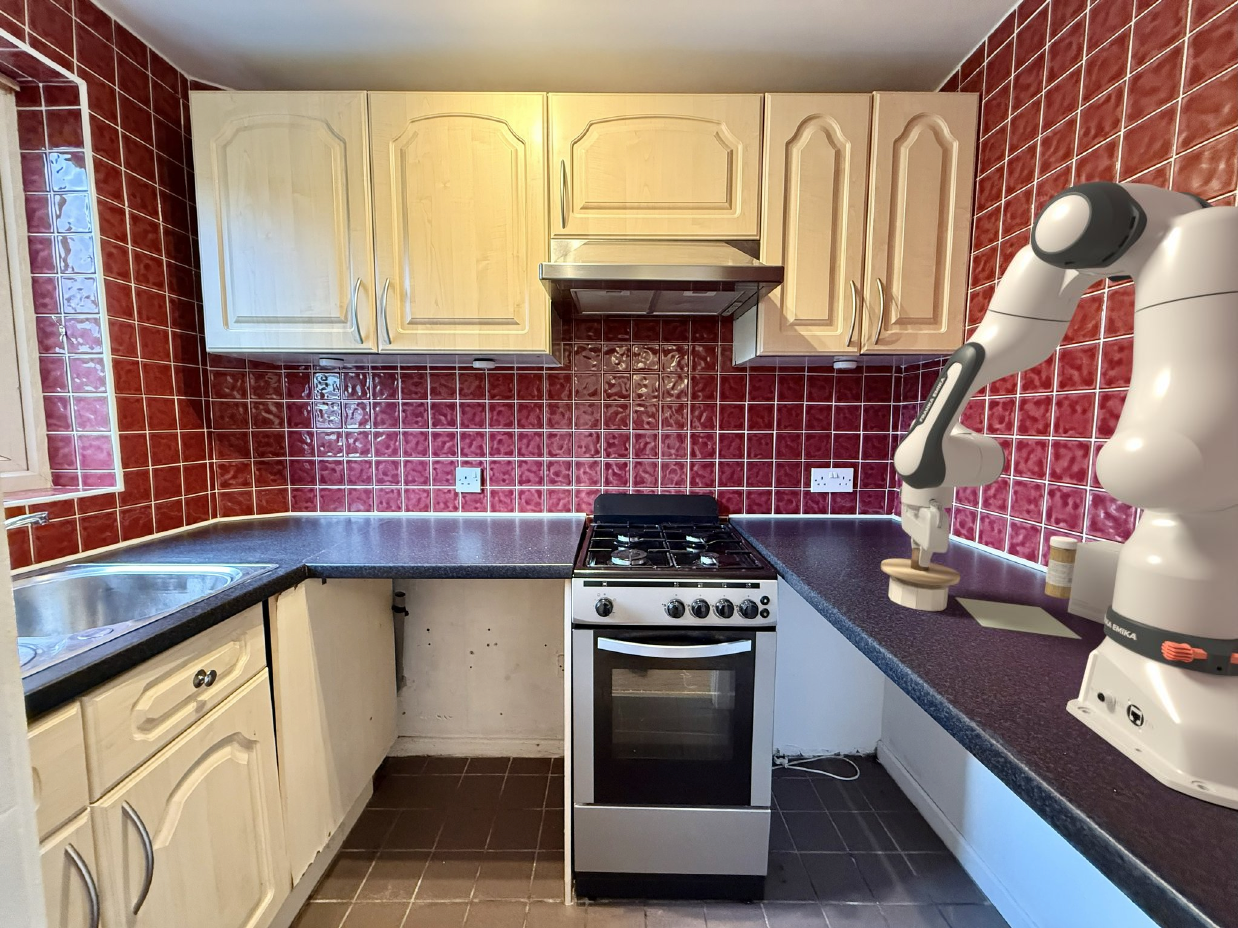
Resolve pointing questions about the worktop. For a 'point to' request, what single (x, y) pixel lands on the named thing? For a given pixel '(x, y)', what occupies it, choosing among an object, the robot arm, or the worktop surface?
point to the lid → (920, 571)
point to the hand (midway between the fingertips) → (920, 562)
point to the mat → (1015, 617)
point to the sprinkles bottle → (1060, 566)
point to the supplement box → (1094, 579)
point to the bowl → (918, 594)
